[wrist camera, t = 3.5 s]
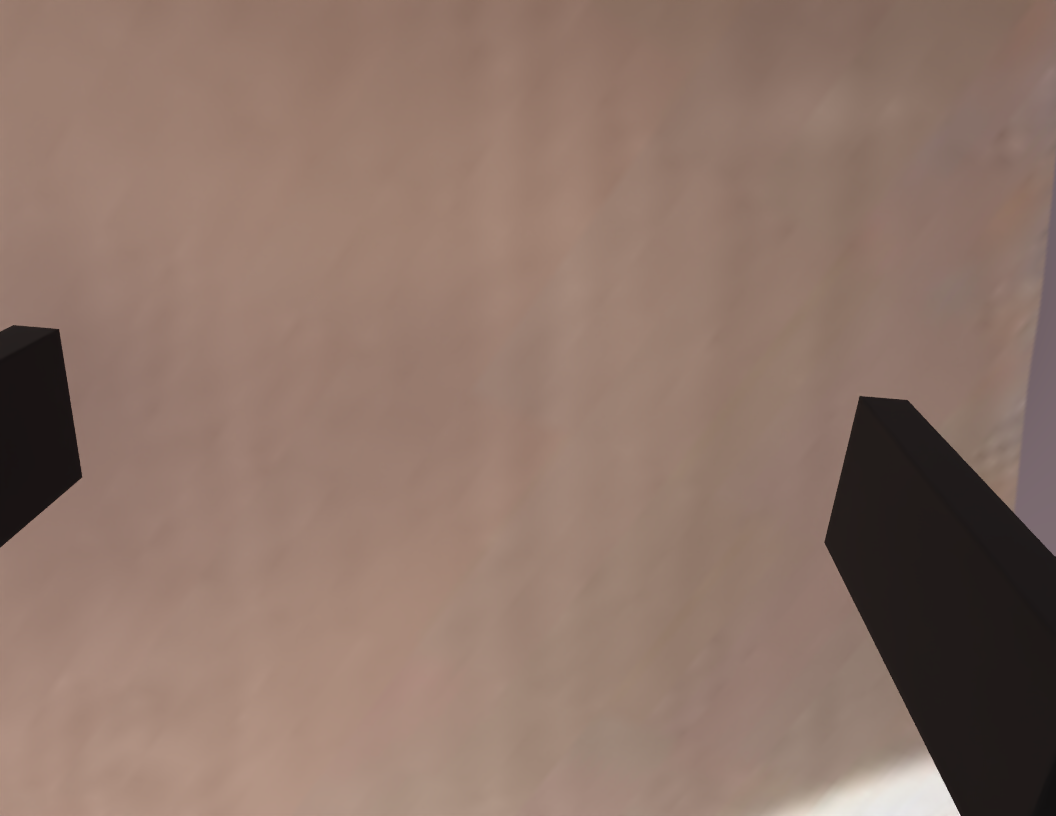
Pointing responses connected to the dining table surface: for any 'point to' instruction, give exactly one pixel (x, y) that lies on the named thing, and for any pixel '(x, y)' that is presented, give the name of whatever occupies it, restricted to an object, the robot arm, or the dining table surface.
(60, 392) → the robot arm
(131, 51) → the dining table surface
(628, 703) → the dining table surface
